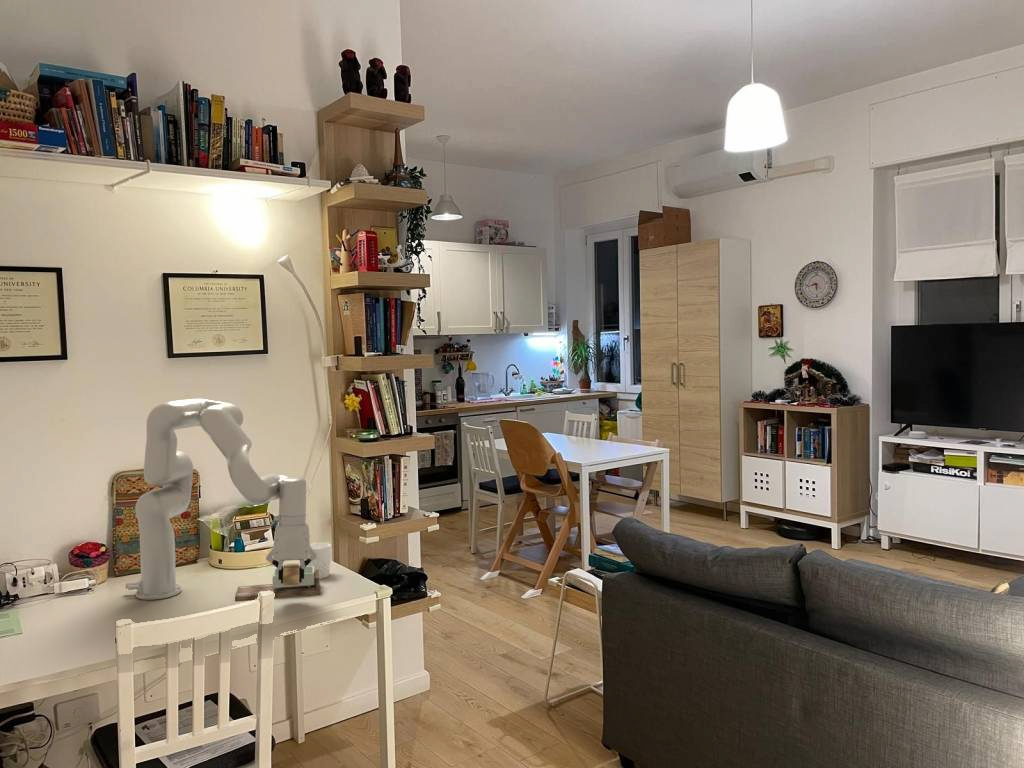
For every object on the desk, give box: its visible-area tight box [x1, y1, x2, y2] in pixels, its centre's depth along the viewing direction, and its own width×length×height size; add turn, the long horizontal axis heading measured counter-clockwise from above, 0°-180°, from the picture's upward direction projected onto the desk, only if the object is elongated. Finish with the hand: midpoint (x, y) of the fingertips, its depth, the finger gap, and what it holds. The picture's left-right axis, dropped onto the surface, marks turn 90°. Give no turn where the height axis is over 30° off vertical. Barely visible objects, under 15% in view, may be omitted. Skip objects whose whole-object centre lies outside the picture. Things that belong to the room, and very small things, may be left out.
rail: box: [234, 569, 320, 602], centre depth 234 cm, size 24×10×5 cm, turn 104°
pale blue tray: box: [272, 566, 314, 591], centre depth 235 cm, size 12×8×5 cm, turn 104°
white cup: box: [307, 542, 332, 580], centre depth 251 cm, size 8×8×10 cm
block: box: [283, 562, 300, 586], centre depth 225 cm, size 4×4×5 cm
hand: (291, 581), depth 225 cm, fingers closed on block, 4 cm apart
